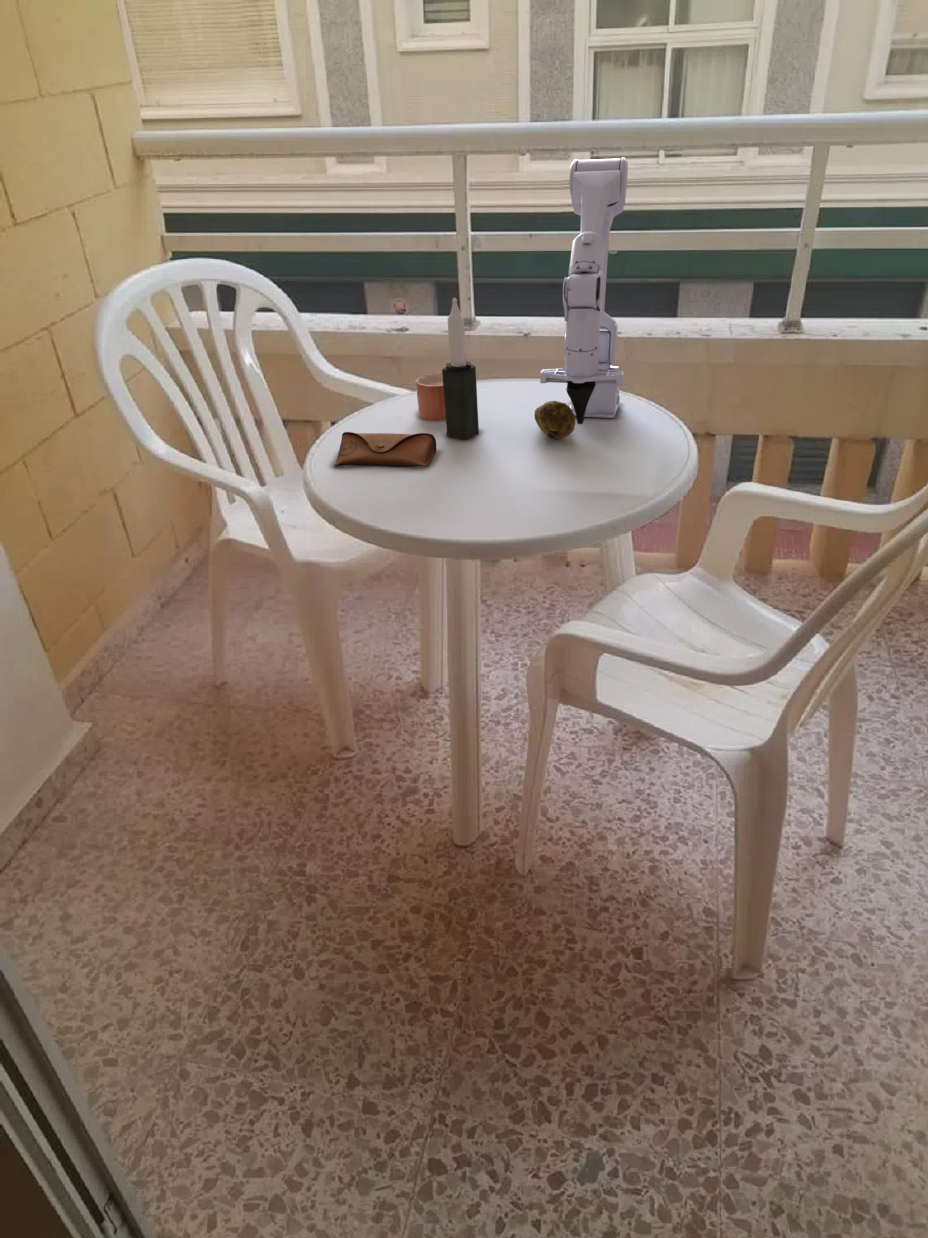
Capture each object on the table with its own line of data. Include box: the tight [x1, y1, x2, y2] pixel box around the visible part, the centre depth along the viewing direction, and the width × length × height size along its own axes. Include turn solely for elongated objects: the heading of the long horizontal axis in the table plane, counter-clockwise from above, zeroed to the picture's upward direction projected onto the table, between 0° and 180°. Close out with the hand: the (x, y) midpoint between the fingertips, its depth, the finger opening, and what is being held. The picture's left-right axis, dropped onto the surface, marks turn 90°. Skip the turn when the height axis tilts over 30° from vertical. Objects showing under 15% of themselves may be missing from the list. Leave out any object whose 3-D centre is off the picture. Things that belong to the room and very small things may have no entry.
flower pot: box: [415, 372, 446, 421], centre depth 166 cm, size 8×8×7 cm
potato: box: [534, 400, 577, 440], centre depth 151 cm, size 8×13×8 cm, turn 166°
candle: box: [441, 297, 480, 441], centre depth 151 cm, size 5×5×25 cm
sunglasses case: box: [333, 431, 437, 468], centre depth 149 cm, size 18×7×7 cm
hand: (580, 422), depth 150 cm, fingers closed
